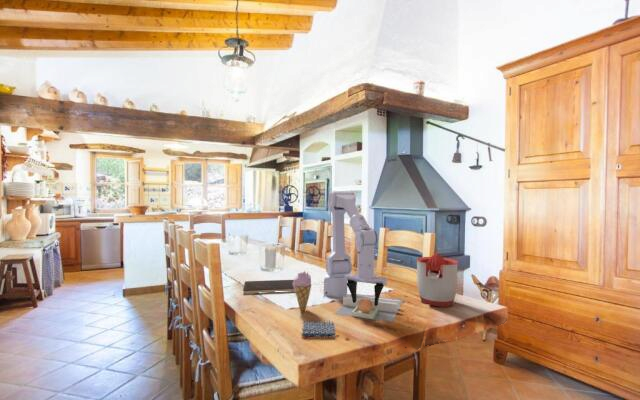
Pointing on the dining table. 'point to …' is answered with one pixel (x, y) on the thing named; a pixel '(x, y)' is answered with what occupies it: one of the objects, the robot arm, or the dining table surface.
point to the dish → (369, 315)
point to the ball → (365, 305)
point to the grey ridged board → (385, 307)
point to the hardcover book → (267, 286)
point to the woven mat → (318, 330)
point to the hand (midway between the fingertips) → (365, 303)
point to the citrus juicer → (437, 280)
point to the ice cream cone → (302, 289)
